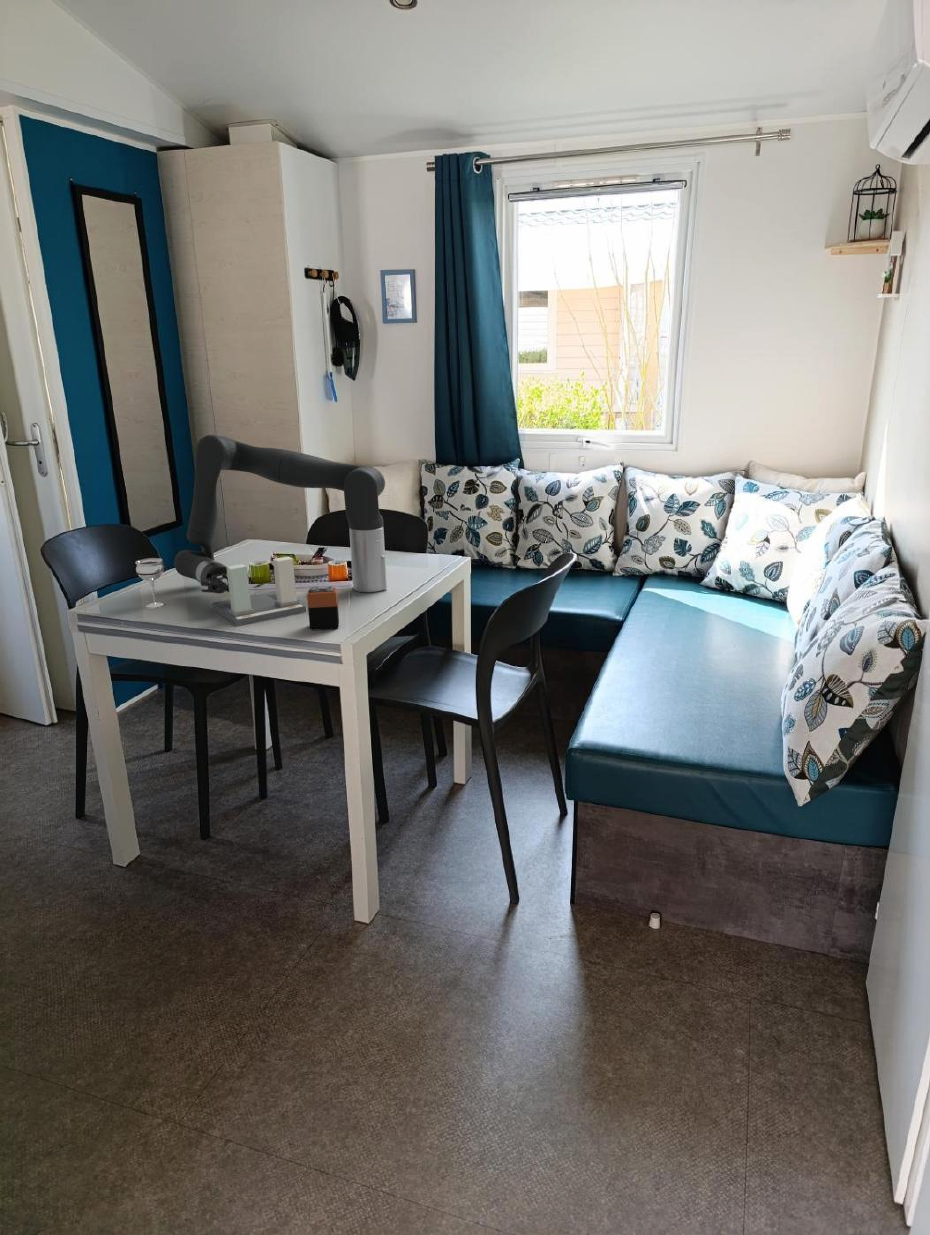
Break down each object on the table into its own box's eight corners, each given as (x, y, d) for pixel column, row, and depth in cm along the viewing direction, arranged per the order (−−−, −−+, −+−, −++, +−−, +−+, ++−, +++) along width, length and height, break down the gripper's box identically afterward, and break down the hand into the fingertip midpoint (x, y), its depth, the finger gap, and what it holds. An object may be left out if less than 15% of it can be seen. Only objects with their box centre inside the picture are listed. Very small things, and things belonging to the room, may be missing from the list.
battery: (310, 624, 198) (307, 585, 195) (339, 623, 199) (336, 583, 196) (309, 630, 194) (306, 590, 191) (338, 629, 195) (335, 588, 191)
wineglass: (174, 603, 217) (168, 559, 213) (153, 610, 211) (146, 565, 207) (157, 600, 220) (150, 556, 216) (135, 607, 214) (129, 562, 211)
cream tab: (274, 603, 210) (270, 558, 206) (293, 600, 212) (289, 555, 209) (281, 607, 206) (276, 562, 203) (299, 603, 209) (295, 558, 205)
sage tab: (229, 612, 203) (223, 566, 199) (248, 608, 206) (243, 563, 202) (234, 616, 200) (229, 569, 196) (254, 612, 203) (249, 566, 199)
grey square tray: (212, 608, 212) (211, 602, 212) (277, 595, 222) (277, 590, 221) (237, 625, 198) (236, 619, 198) (305, 611, 208) (305, 605, 207)
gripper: (187, 566, 211) (209, 580, 198) (237, 558, 218) (261, 571, 205) (190, 594, 214) (212, 610, 200) (240, 585, 221) (264, 600, 207)
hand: (237, 590), depth 202 cm, fingers closed
